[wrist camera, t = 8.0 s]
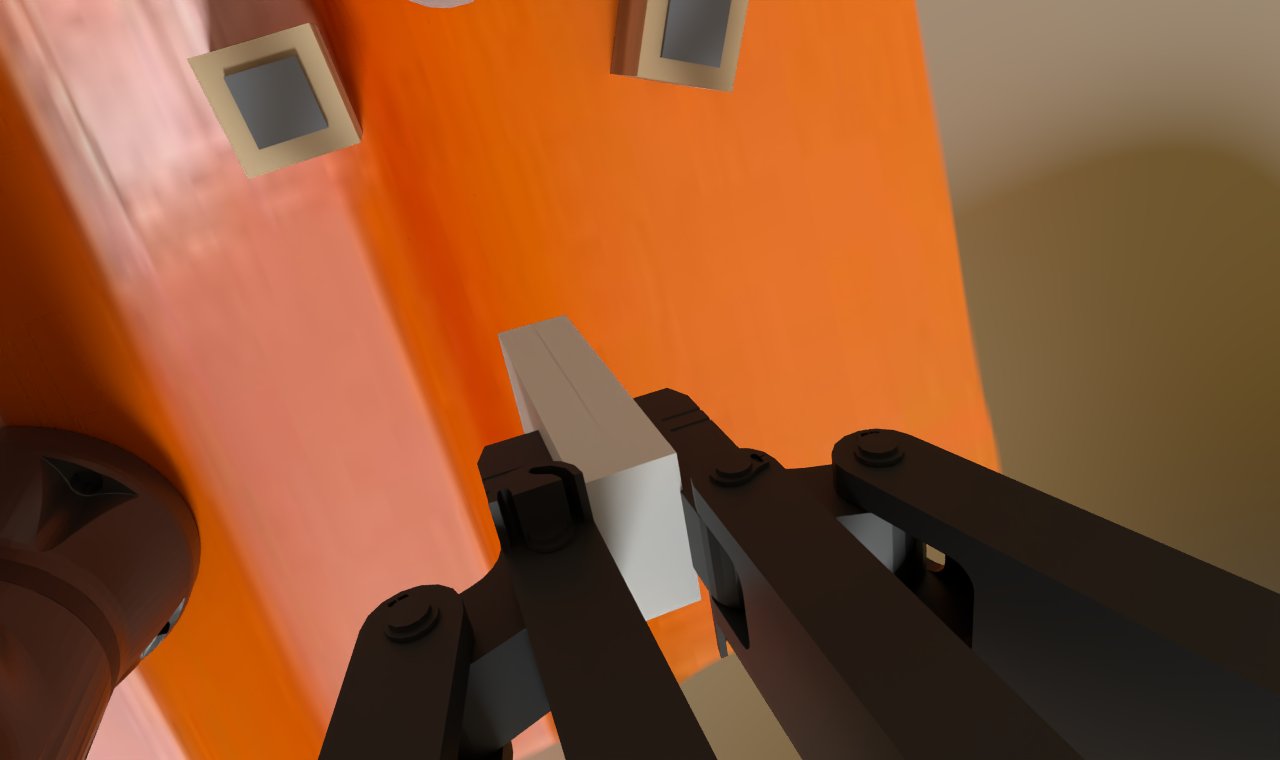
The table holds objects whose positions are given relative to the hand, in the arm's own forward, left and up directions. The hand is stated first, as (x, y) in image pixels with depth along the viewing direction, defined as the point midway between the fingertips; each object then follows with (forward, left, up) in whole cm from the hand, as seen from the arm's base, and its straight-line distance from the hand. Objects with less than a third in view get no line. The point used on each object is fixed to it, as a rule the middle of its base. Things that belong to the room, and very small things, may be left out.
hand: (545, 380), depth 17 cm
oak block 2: (+12, +6, -27) cm, 31 cm away
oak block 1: (-7, +5, -27) cm, 28 cm away
